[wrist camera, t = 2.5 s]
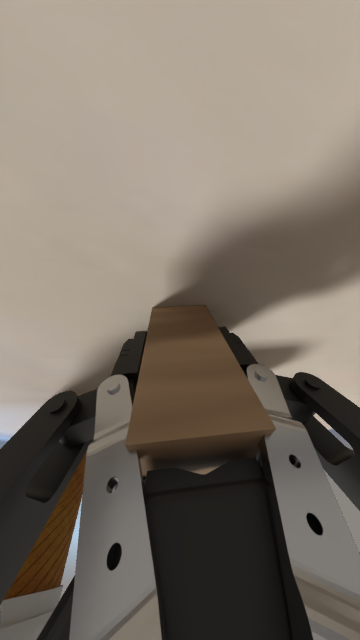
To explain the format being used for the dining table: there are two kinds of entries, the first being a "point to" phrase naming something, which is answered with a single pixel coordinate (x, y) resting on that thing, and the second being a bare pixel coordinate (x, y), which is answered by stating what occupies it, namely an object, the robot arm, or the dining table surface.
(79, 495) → the disposable coffee cup
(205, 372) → the walnut block
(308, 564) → the robot arm
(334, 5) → the dining table surface
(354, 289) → the dining table surface
